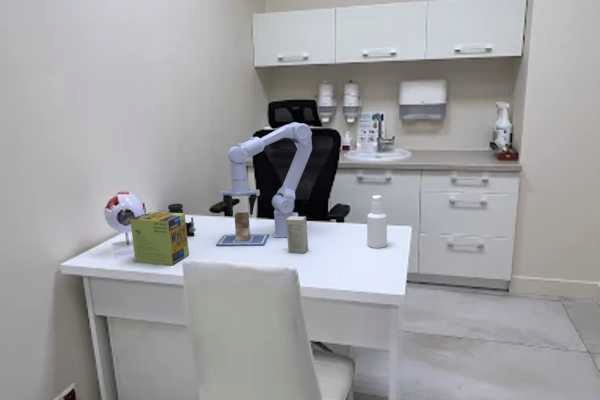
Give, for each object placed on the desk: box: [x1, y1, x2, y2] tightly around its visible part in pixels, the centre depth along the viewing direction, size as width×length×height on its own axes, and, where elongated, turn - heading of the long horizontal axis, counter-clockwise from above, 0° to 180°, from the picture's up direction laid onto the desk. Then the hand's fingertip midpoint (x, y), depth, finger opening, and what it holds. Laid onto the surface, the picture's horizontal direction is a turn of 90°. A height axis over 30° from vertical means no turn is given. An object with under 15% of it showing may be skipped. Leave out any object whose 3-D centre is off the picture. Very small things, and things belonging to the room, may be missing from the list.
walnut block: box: [234, 211, 250, 230], centre depth 176 cm, size 4×4×5 cm
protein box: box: [129, 211, 190, 266], centre depth 161 cm, size 10×15×16 cm
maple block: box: [234, 225, 251, 241], centre depth 177 cm, size 4×4×5 cm
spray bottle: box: [366, 195, 388, 249], centre depth 165 cm, size 7×7×18 cm
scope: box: [167, 203, 197, 238], centre depth 182 cm, size 8×14×10 cm
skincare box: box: [286, 216, 309, 254], centre depth 163 cm, size 6×4×12 cm
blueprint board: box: [216, 233, 270, 247], centre depth 178 cm, size 18×12×1 cm, turn 85°
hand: (241, 214), depth 175 cm, fingers open, 7 cm apart
